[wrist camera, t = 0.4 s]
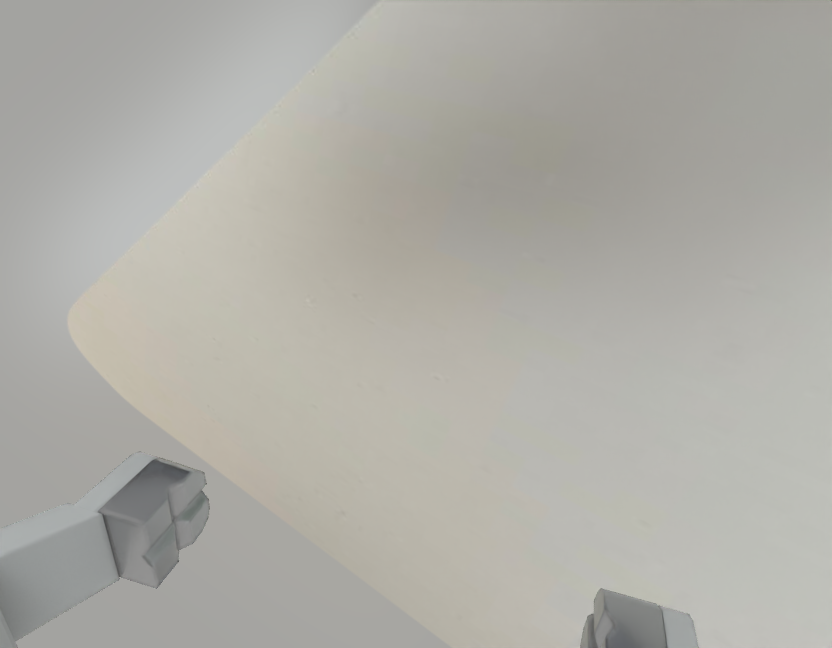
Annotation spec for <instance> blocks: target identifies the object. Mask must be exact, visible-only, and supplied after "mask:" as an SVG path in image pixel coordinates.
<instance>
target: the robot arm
mask: <svg viewBox="0 0 832 648" xmlns="http://www.w3.org/2000/svg"><path fill="white" fill-rule="evenodd" d="M206 484H207V483H206V478H205V473H204V472H202V471H199V470H196V469H193V468H190V467H187V466H184V465H181V464H178V463H175V462H172V461H169V460H166V459H163V458H160V457H157V456H153V455H150V454H147V453H143V452H137V453H135V454H132V455H130V456H129V457H128V458H127V459H126V460H124V461H123V462H122V463H121V464H120V465H119V466H118V467H116V468H115V469H114V470H113V471H112V472H111V473H109V474H108V475H107V476H106V477H105V478H104V479H103V480H101V481H100V482H99V483H98V484H97V485H96V486H95V487H93V488H92V489H91V490H90V491H89V492H88V493H87V494H86V495H84V496H83V497H82V498H81V499H80V500H79V501H78V502H76V503H75V504H71V503H66V504H63V505H61V506H58V507H55V508H53V509H50V510H47V511H45V512H42V513H40V514H37V515H35V516H32V517H29V518H26V519H24V520H21V521H18V522H16V523H13V524H10V525H8V526H5V527H2V528H0V648H18V647H17V645H16V642H15V641H17V640H19V639H20V638H22V637H24V636H25V635H27V634H29V633H30V632H32V631H34V630H35V629H37V628H39V627H40V626H42V625H44V624H46V623H47V622H49V621H51V620H52V619H54V618H56V617H57V616H59V615H61V614H62V613H64V612H66V611H67V610H69V609H71V608H72V607H74V606H76V605H78V604H79V603H81V602H83V601H84V600H86V599H88V598H89V597H91V596H93V595H94V594H96V593H98V592H100V591H101V590H103V589H105V588H106V587H108V586H110V585H111V584H113V583H115V582H116V581H118V580H119V579H120V578H119V577H122V578H125V579H128V580H131V581H134V582H137V583H141V584H144V585H147V586H150V587H153V588H156V589H157V588H158V586H159V585H160V584H161V583H162V582H163V580H164V579H165V578H166V577H167V575H168V574H169V573H170V572H171V570H172V569H173V568H174V567H175V565H176V564H177V563H178V562H179V550H181V549H183V548H185V547H187V546H189V545H191V544H193V543H194V542H195V540H196V539H197V537H198V536H199V535H200V534H201V532H202V530H203V528H204V526H205V524H206V522H207V519H208V515H209V509H210V508H209V499H208V498H207V497H206V495H205V494H204V492H203V491H202V489H203V488H204V486H205V485H206ZM580 648H699V647H698V642H697V637H696V632H695V627H694V622H693V620H692V618H691V616H690V615H689V614H687V613H683V612H680V611H677V610H673V609H670V608H666V607H663V606H660V605H657V604H655V603H651V602H648V601H644V600H641V599H637V598H634V597H630V596H627V595H623V594H619V593H616V592H612V591H609V590H605V589H602V588H601V589H600V590H599V591H598V592H597V594H596V597H595V599H594V613H593V614H591V615H589V616H588V617H587V620H586V623H585V625H584V629H583V634H582V639H581V645H580Z"/></svg>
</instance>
